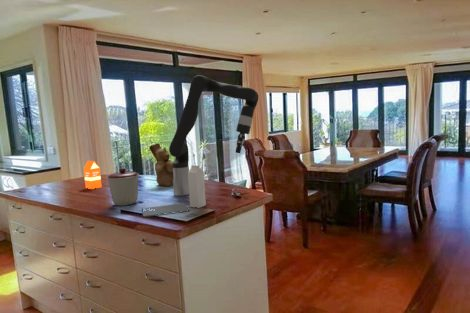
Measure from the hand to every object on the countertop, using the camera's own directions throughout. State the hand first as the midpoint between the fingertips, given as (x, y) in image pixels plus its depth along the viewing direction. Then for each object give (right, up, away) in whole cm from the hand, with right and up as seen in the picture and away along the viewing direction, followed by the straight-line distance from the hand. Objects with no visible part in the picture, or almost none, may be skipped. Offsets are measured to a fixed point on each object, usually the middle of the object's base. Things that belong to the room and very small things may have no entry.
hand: (237, 152), depth 196 cm
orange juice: (-106, -25, +63) cm, 126 cm away
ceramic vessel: (-53, -23, +61) cm, 83 cm away
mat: (-38, -30, -13) cm, 50 cm away
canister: (-65, -30, +7) cm, 72 cm away
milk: (-21, -29, -8) cm, 37 cm away
